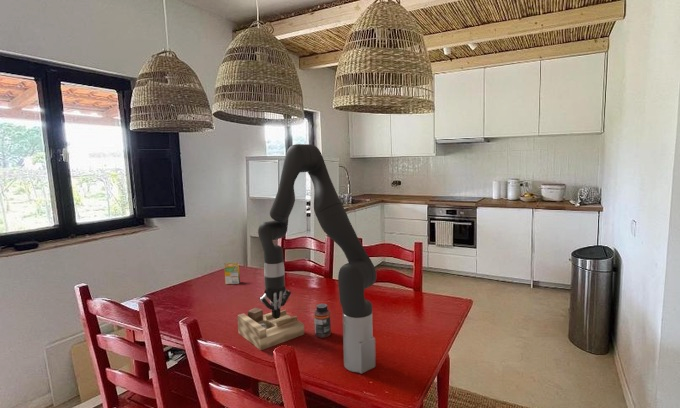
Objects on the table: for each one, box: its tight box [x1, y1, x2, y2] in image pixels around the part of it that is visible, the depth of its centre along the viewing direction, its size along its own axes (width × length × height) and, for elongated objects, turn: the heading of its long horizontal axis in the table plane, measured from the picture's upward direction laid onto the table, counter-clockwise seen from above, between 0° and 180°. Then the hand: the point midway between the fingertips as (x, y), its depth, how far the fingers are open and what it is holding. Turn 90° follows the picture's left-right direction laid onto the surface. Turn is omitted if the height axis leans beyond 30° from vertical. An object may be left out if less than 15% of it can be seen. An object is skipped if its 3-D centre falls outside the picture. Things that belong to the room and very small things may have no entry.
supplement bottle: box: [313, 303, 332, 339], centre depth 135 cm, size 6×6×11 cm
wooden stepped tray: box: [237, 309, 305, 351], centre depth 138 cm, size 18×18×7 cm
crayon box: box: [223, 262, 241, 285], centre depth 198 cm, size 7×3×12 cm, turn 93°
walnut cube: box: [247, 307, 264, 322], centre depth 140 cm, size 4×4×4 cm
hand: (276, 317), depth 139 cm, fingers closed
